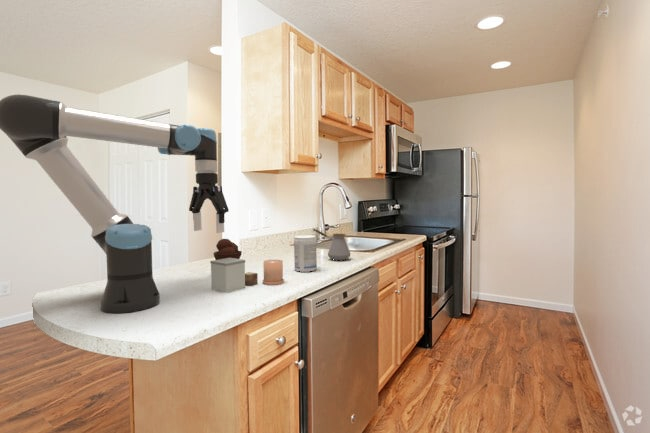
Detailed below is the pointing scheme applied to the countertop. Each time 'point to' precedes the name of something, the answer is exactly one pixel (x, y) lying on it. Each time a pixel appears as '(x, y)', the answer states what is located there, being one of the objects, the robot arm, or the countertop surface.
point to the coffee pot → (337, 247)
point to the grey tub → (227, 274)
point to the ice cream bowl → (227, 250)
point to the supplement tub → (305, 253)
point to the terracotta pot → (273, 272)
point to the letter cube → (251, 279)
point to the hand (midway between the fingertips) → (208, 231)
